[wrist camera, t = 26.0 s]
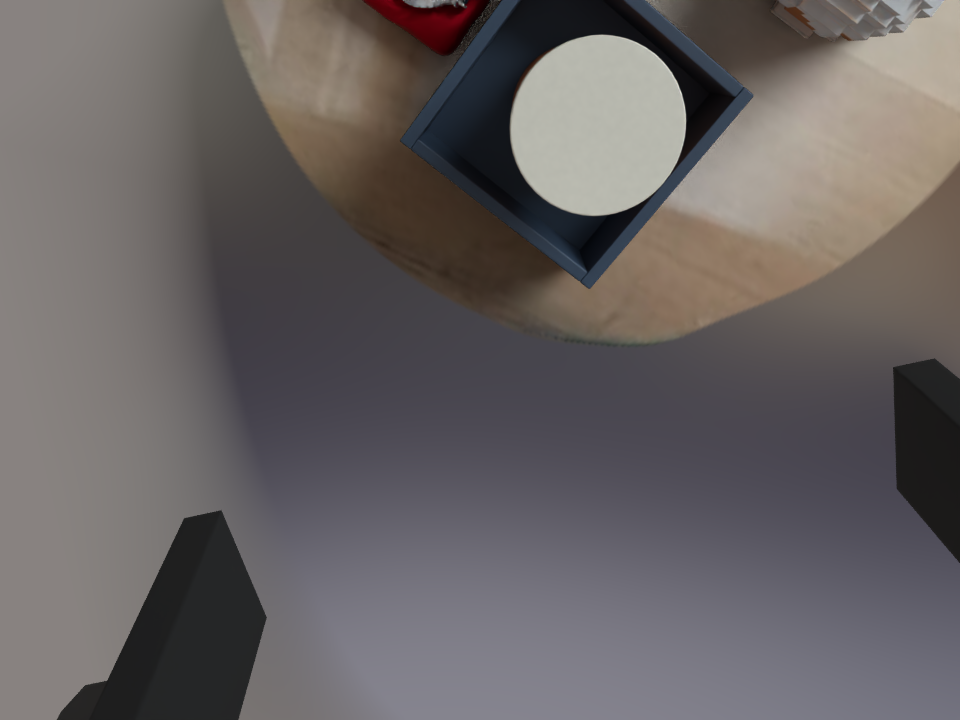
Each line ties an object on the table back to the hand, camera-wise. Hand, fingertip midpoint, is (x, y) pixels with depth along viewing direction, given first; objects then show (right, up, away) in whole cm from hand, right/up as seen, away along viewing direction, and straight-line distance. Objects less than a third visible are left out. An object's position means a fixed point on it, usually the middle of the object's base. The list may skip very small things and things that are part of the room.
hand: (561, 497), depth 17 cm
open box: (+3, +15, +27) cm, 31 cm away
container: (+3, +15, +27) cm, 31 cm away
